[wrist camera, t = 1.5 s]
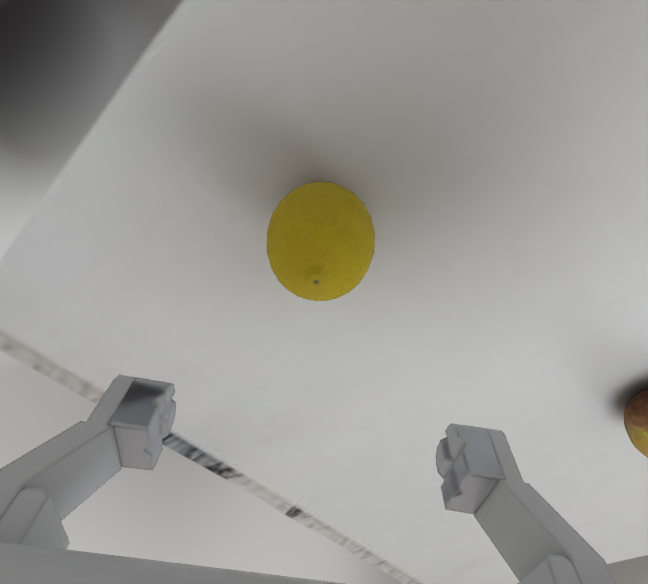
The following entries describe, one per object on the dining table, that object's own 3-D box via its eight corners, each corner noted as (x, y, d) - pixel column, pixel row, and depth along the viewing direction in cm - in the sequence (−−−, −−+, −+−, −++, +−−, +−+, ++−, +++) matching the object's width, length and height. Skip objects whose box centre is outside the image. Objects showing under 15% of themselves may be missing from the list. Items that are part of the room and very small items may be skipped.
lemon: (259, 204, 24) (227, 275, 17) (328, 142, 22) (321, 196, 15) (320, 265, 26) (312, 348, 20) (389, 213, 24) (406, 288, 17)
